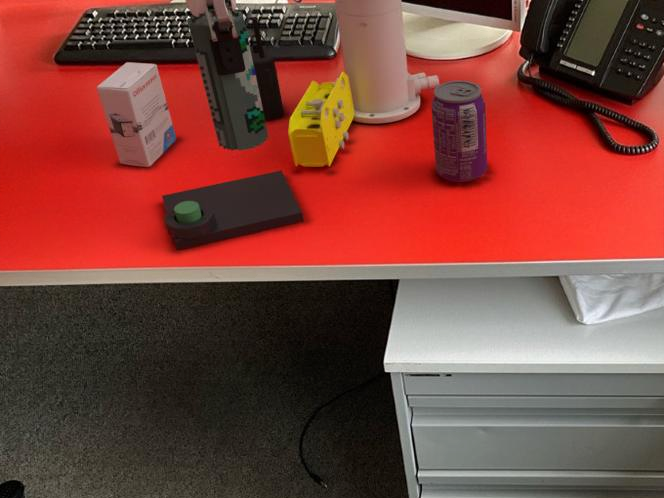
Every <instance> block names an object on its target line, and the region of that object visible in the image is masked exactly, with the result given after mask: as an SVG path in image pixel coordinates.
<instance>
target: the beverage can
mask: <svg viewBox="0 0 664 498" xmlns="http://www.w3.org/2000/svg"><path fill="white" fill-rule="evenodd" d="M433 95H434V96H433V98H432V101H431V106H430V107H431V108H430V109H431V120H432V134H433V148H434V160H435V172H436V174H437V175H438V176H439V177H441V178H442V179H445V180H448V181H451V182H456V183H465V182H466V183H467V182H471V181H473V180H476V179H478V178H481V177H482V176H484V175H485V174H486V173H487V171H488V145H487V143H488V142H487V141H488V140H487V111H486V101H485V99H484V96H483V95H482V88H481V86H480V85H479V84H477V83H475V82H473V81H468V80H450V81H445V82H442V83H439V85H438V86H437V87H436V88H434V89H433Z"/></svg>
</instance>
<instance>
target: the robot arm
mask: <svg viewBox="0 0 664 498" xmlns="http://www.w3.org/2000/svg"><path fill="white" fill-rule="evenodd" d="M184 1H185V3H186V5H187V7H188V9H189V11H190V13H191V14H192V15H194V16H196V17H199V14H203V13H205V16H206V19H207V23H208V27H209V31H210V34H211V38H212V40H209V41H210V45H211V49H212V53H213V57H214V62H215V66H216V70H217V73H218V75H220V76H223V75H229V74H234V73H240V72H244V71H245V69H246V68H245V63H244V59H243V54H242V49H241V45H240V40H239V36H238V35H237V32H236V29H235V25H234V21H233V17H232V13H231V11H234V9H237V0H184ZM402 3H403V2H402V0H334V4H335V14H336V20H337V27H338V34H339V40H340V41H339V42H340V48H341V56H342V63H343V69H344V73H345V74H346V75H347V76H348V78H349V83H350V89H351V95H352V100H353V107H354V118H353V120H352V122H357V123H361V124H372V125H373V124H375V125H381V124H388V123H395V122H398V121H401V120H403V119H406V118H408V117H410V116H412V115H413V114H415V113H417V111H418V110H419V109H420V107H421V96H420V94H421V92H422V91H425V90H428V91H429V90H434V89H435V88H436V87H437V86H438V85H440V78H439V76H438V75H437V74H433V75H428V76H427V75H426V73H425V72H424V71H423V72H418V73H415V74H411V73H409V71H408V60H407V48H406V37H405V27H404V26H405V25H404V16H403V7H402ZM208 9H214V10H213V11H208ZM212 17H216V20H217V21H214V24H213V20H212Z"/></svg>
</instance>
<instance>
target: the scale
mask: <svg viewBox="0 0 664 498" xmlns="http://www.w3.org/2000/svg"><path fill="white" fill-rule="evenodd" d="M161 198H162V200H163V204H164V208H165V212H166V214H165V216H164V217H163V219H164V225H165V228H166V230H167V233H168V235H169V236H170V237H173V241H174V244H175V247H176V251H181V250H184V249H189V248H193V247H197V246H202V245H207V244H210V243H215V242H220V241H223V240H229V239H233V238H237V237H240V236H241V237H242V236H245V235H246V236H247V235H249V234H254V233H259V232H263V231H266V230H272V229H275V228H280V227H285V226H289V225H293V224H297V223H301V222H304V221H305V219H304V214H303V211H302V209H301V207H300V204H299V202H298V201H297V198H296V196H295V194H294V192H293V190H292V189H291V186H290V184H289V182H288V180H287V178H286V177H285V174H284V172H283V170H281V169H280V170H275V171H271V172H267V173H261V174H257V175H253V176H248V177H247V176H246V177H243V178H238V179H234V180H229V181H225V182H220V183H215V184H211V185H206V186H201V187H196V188H192V189H188V190H182V191H177V192H172V193H168V194H167V193H166V194H162V195H161ZM185 201H194V202H197V203H198V204H199V207H200V210H201V214H202V218H201V219H199V220H197V221H195V222H191V223H179V222H178V221H177V218H176V215H175V211H174V208H175V206H176V205H177V204H179V203H181V202H185Z"/></svg>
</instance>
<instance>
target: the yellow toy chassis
mask: <svg viewBox="0 0 664 498" xmlns="http://www.w3.org/2000/svg"><path fill="white" fill-rule="evenodd" d="M353 118H354V107H353V100H352V95H351V89H350V83H349V78H348V76H347V75H346V74H345V71H342V72H341V73H340V75H339V77H336V79H335V81H329V82H328V81H327V82H326V81H325V82H322V83H320V84H319V83H318V82H317V81H315V80H312V81H311V82H310V84H309V86H308V87H307V89H306V91H305V92H304V94H303V96H302V97H301V99H300V101H299V103H298V104H297V106H296V107H295V109H294V110H293V112H292V114H291V116H290V118H289V123H288V130H287V136H288V140H289V144H290V145H289V146H290V150H291V153H292V157H293V163H294V166H295V167H298V165H300V166H302V167H304V168H311V167H312V168H323V167H324V166H327V167H331V165H332V163H333V161H334V159H335V156H336V154H337V152H338V151H339V149H340V150H341V149H345V141H349V132H348V130H349V128H350V126H351V124H352V122H353ZM344 140H345V141H344Z"/></svg>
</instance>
